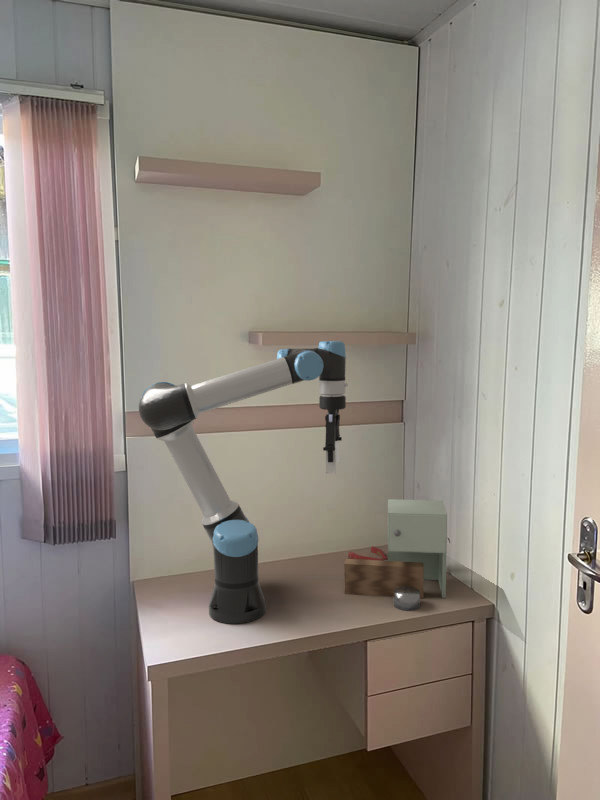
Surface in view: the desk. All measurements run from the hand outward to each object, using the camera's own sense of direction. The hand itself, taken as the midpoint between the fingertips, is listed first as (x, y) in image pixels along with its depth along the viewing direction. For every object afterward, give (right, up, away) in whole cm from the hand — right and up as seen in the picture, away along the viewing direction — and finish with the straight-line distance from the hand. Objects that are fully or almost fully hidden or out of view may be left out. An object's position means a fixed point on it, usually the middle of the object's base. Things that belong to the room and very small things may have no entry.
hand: (332, 467), depth 188 cm
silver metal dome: (+19, -36, -12) cm, 43 cm away
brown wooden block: (+14, -35, -4) cm, 38 cm away
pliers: (+14, -33, +19) cm, 41 cm away
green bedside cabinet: (+24, -35, 0) cm, 42 cm away
